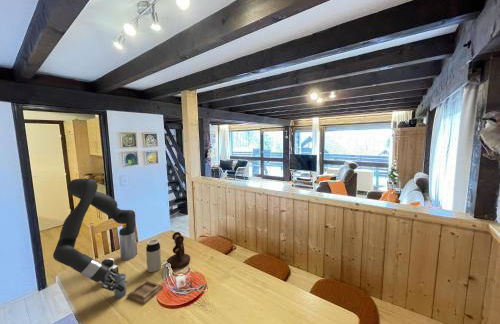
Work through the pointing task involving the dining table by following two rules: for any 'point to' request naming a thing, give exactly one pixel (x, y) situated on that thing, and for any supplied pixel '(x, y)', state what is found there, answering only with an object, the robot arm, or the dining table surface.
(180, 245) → the scroll
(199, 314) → the dining table surface
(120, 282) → the blue-grey dome-topped cylinder
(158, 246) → the travel mug
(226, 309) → the dining table surface
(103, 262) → the medicine bottle
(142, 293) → the walnut socket
